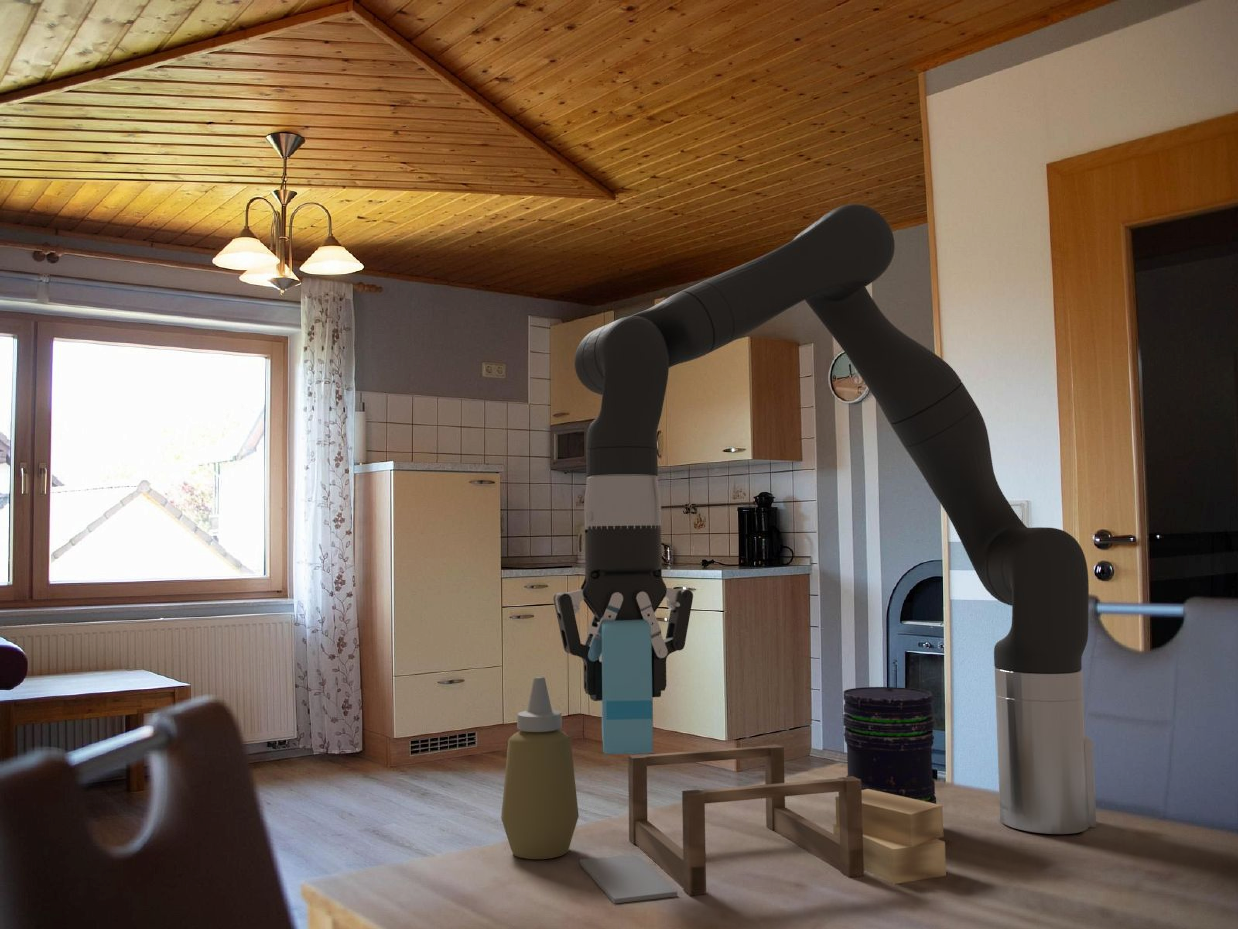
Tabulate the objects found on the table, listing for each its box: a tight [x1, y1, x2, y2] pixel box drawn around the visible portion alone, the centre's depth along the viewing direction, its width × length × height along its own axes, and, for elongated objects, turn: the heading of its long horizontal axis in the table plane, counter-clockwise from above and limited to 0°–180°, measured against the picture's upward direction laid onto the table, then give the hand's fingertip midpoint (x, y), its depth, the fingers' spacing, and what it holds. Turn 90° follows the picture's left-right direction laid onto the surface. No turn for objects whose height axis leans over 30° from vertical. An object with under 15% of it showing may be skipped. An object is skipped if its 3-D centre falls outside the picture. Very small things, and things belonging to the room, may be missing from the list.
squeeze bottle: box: [500, 676, 580, 860], centre depth 108 cm, size 8×8×18 cm
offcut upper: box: [835, 789, 944, 847], centre depth 103 cm, size 5×9×3 cm, turn 39°
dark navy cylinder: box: [842, 686, 937, 804], centre depth 116 cm, size 10×10×15 cm
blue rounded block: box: [600, 620, 654, 755], centre depth 100 cm, size 12×4×12 cm, turn 2°
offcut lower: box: [832, 822, 947, 885], centre depth 103 cm, size 6×10×4 cm, turn 22°
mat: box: [579, 853, 678, 904], centre depth 99 cm, size 6×12×1 cm, turn 17°
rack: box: [627, 743, 865, 897], centre depth 106 cm, size 18×19×9 cm
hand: (625, 697), depth 100 cm, fingers closed on blue rounded block, 5 cm apart
